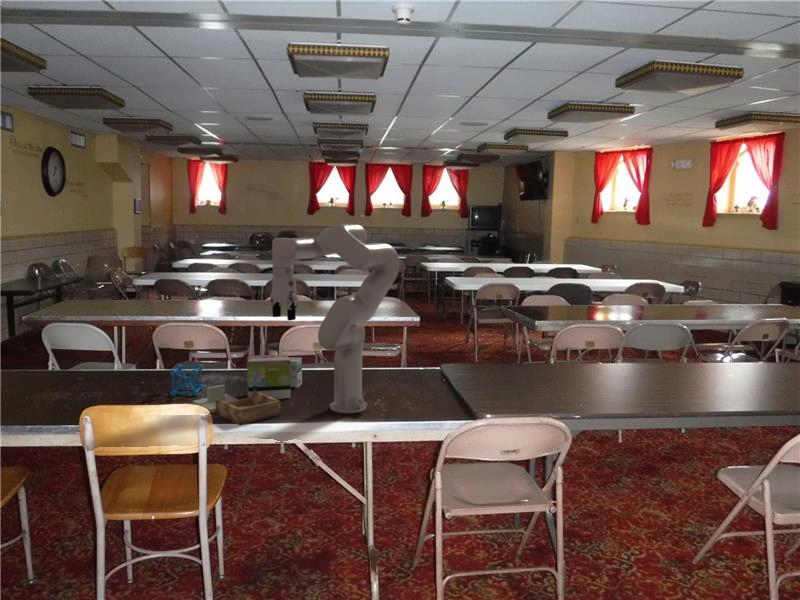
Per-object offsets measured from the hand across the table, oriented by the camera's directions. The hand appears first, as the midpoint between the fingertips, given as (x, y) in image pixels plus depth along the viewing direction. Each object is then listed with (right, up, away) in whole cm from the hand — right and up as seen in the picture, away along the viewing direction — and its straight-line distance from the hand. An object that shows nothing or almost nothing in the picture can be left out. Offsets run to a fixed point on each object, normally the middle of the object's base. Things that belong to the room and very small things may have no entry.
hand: (284, 318), depth 226 cm
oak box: (-8, -31, -21) cm, 39 cm away
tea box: (-5, -29, -1) cm, 29 cm away
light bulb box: (-1, -27, +14) cm, 30 cm away
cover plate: (-20, -30, -13) cm, 38 cm away
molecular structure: (-36, -28, +3) cm, 46 cm away
